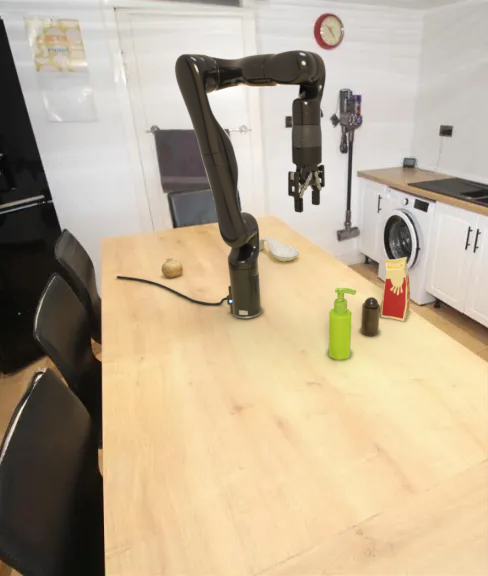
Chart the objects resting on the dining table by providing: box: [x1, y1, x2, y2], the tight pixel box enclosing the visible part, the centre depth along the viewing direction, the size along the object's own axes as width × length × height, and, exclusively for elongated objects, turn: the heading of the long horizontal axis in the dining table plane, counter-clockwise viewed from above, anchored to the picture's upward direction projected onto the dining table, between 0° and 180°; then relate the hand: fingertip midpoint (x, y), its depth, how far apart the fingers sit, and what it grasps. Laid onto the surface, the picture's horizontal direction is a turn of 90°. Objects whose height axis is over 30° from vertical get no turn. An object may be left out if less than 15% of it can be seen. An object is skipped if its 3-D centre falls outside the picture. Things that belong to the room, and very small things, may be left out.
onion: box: [160, 258, 183, 279], centre depth 161 cm, size 8×8×7 cm
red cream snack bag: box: [379, 256, 411, 322], centre depth 131 cm, size 9×9×20 cm
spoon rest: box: [259, 236, 300, 263], centre depth 181 cm, size 24×12×7 cm, turn 48°
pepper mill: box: [360, 296, 381, 337], centre depth 122 cm, size 5×5×12 cm
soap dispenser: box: [328, 287, 357, 361], centre depth 109 cm, size 6×7×20 cm
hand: (307, 208), depth 108 cm, fingers open, 8 cm apart
